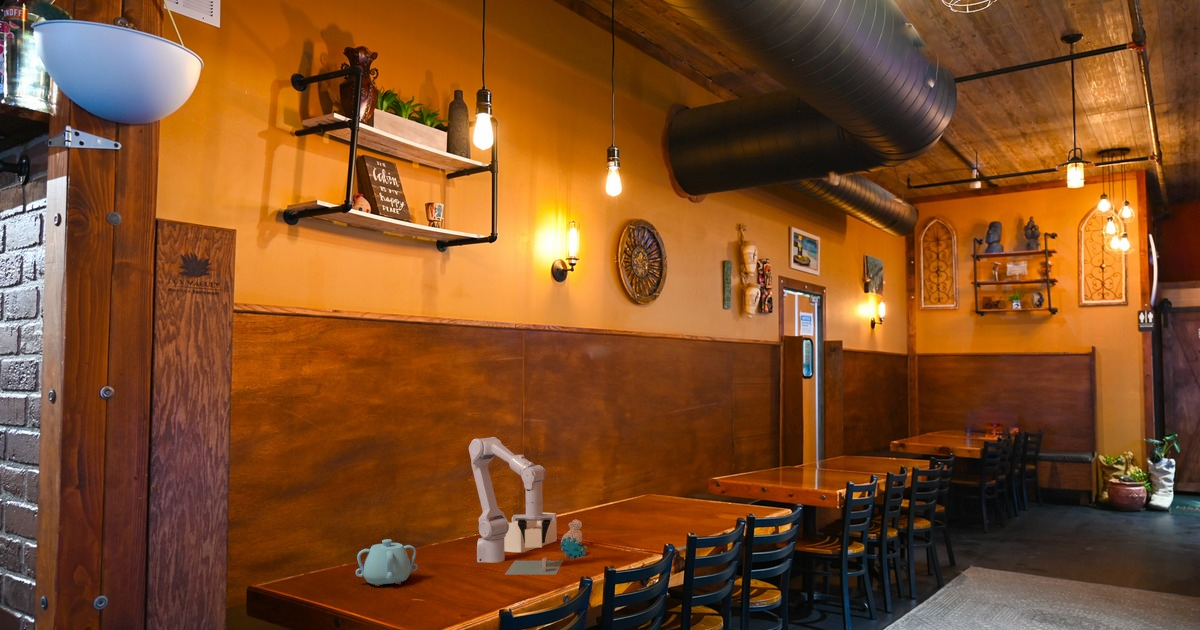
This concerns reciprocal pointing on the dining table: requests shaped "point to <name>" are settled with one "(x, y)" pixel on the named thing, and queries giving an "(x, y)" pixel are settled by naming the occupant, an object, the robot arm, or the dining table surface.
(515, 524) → the storage container
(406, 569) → the decorative pot
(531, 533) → the cabinet with handle
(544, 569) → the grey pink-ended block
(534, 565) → the base plate
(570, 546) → the gear
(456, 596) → the dining table surface
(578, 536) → the bust
